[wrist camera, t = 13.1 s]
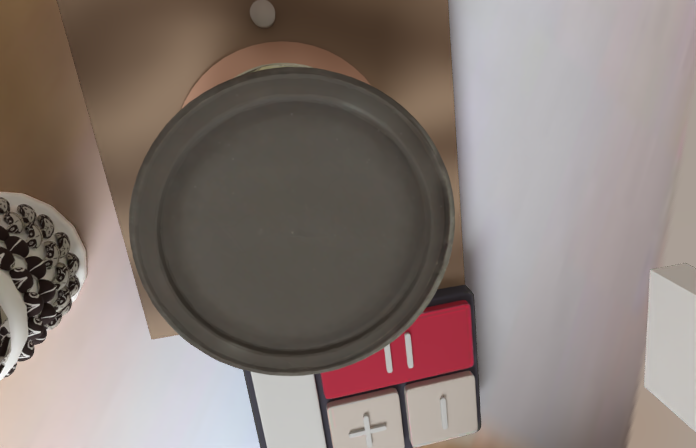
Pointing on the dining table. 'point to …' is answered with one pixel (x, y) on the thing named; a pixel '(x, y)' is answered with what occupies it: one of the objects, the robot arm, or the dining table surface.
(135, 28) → the pin board
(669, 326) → the robot arm
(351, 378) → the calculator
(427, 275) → the coffee can
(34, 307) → the decorative candle
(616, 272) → the dining table surface
